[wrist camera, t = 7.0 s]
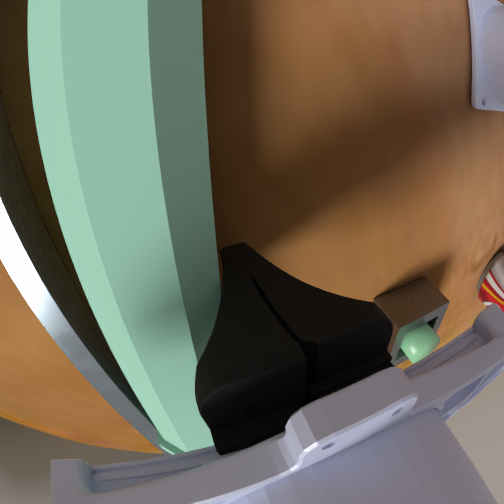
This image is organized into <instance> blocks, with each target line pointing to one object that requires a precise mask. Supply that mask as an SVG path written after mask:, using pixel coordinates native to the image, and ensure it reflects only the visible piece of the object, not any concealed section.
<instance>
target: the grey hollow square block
mask: <svg viewBox="0 0 504 504" xmlns="http://www.w3.org/2000/svg"><path fill="white" fill-rule="evenodd" d="M449 302H450V301H449V300H448V299H447V298H446V297H445V296H444V295H443V294H442V293H441V292H440V291H439V290H438V289H437V288H436V287H435V286H434V285H433V284H432V283H431V282H430V281H429V280H428V279H427V278H425V277H422V278H420V279H418V280H415V281H413V282H411V283H409V284H406V285H404V286H402V287H400V288H397V289H395V290H393V291H390V292H388V293H386V294H383V295H381V296H379V297H376V298H374V302H373V303H375V304H376V305H377V306H378V307H379V308H381V309H382V310H383V312H384V313H385V314H386V315H387V316H388V318H389V319H390V320H391V321H392V323H393V333H392V337H391V340H390V343H389V346H388V349H387V351H388V352H389V353H390V355H391V356H392V360H391V363H392V364H393V365H394V367H395V366H397V365H398V364H400V363H402V362H404V361H406V360H408V359H409V358H408V357H407V355H406V354H405V353H404V351H403V350H402V349H401V348H400V347H401V344H402V341H403V339H404V336H405V334H406V333H408V332H410V331H411V330H413V329H415V328H417V327H419V326H421V325H423V324H424V323H426V322H427V324H428V325H429V326H430V327H431V328H432V329H433V330H434V332H435V333H436V332H437V330H438V328H439V326H440V324H441V321H442V319H443V317H444V314H445V312H446V310H447V307H448V305H449Z"/></svg>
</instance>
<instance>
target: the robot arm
mask: <svg viewBox="0 0 504 504" xmlns="http://www.w3.org/2000/svg"><path fill="white" fill-rule="evenodd" d="M468 6H469V16H470V27H471V45H472V94H471V103H472V106H473V107H474V108H476V109H479V110H493V111H504V4H502V3H500V2H499V1H497V0H468ZM220 254H221V259H222V263H223V283H222V292H221V299H220V304H219V309H218V313H217V317H216V320H215V324H214V327H213V330H212V333H211V335H210V338H209V340H208V343H207V345H206V347H205V350H204V352H203V353H202V355H201V357H200V359H199V361H198V363H197V366H196V374H195V399H196V403H197V406H198V410H199V413H200V416H201V417H202V419H203V420H204V422H205V423H206V425H207V426H208V428H209V429H210V432H211V435H212V439H213V442H214V445H213V446H209V447H205V448H201V449H197V450H192V451H188V452H183V453H179V454H174V455H169V456H163V457H158V458H152V459H146V460H139V461H132V462H125V463H117V464H108V465H97V466H91V465H89V464H88V463H87V462H85V461H83V460H79V459H58V460H51V482H52V497H53V504H497V502H496V500H495V499H494V497H493V495H492V494H491V492H490V490H489V489H488V487H487V485H486V484H485V482H484V481H483V479H482V477H481V476H480V474H479V473H478V471H477V469H476V468H475V466H474V465H473V463H472V462H471V460H470V459H469V457H468V455H467V454H466V453H465V451H464V450H463V448H462V446H461V445H460V443H459V442H458V440H457V439H456V437H455V436H454V435H453V433H452V432H451V430H450V429H449V427H448V426H447V424H446V423H445V421H446V420H447V419H449V418H450V417H451V416H452V415H454V414H455V413H456V412H457V411H459V410H460V409H461V408H462V407H463V406H465V405H466V404H467V403H468V402H469V401H471V400H472V399H473V398H474V397H475V396H476V395H477V394H478V393H480V392H481V391H482V390H483V389H484V388H485V387H486V386H487V385H488V384H490V383H491V382H492V381H493V380H494V379H495V378H496V377H497V376H498V375H499V374H500V373H501V372H503V370H504V312H503V311H502V310H501V309H500V308H499V307H498V306H497V305H496V304H495V303H492V304H491V305H490V306H488V307H487V308H486V309H484V310H483V311H482V312H480V313H479V315H478V316H477V317H476V319H475V321H474V323H473V326H472V327H471V328H469V329H468V330H467V331H465V332H464V333H462V334H461V335H459V336H458V337H456V338H455V339H453V340H452V341H450V342H449V343H447V344H446V345H444V346H443V347H441V348H439V349H438V350H436V351H435V352H433V353H431V354H430V355H428V356H426V357H425V358H423V359H421V360H420V361H418V362H416V363H414V364H413V365H411V366H409V367H407V368H406V369H404V370H402V369H401V368H397V367H394V365H393V364H392V363H391V360H392V356H391V355H390V353H389V352H388V351H387V349H388V346H389V343H390V340H391V337H392V333H393V323H392V321H391V320H390V319H389V318H388V316H387V315H386V314H385V313H384V312H383V310H382V309H381V308H379V307H378V306H377V305H376V304H375V303H373V302H368V301H362V300H357V299H352V298H348V297H344V296H340V295H336V294H333V293H330V292H327V291H324V290H322V289H319V288H316V287H314V286H311V285H309V284H307V283H305V282H303V281H300V280H298V279H296V278H295V277H293V276H291V275H289V274H288V273H286V272H284V271H283V270H281V269H279V268H278V267H276V266H275V265H273V264H272V263H271V262H269V261H268V260H266V259H265V258H264V257H262V256H261V255H260V254H258V253H257V252H256V251H255V250H253V249H252V248H251V247H250V246H249V245H247V244H246V243H244V242H242V243H239V244H235V245H231V246H228V247H224V248H222V249H221V250H220Z"/></svg>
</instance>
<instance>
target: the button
mask: <svg viewBox="0 0 504 504" xmlns="http://www.w3.org/2000/svg"><path fill="white" fill-rule="evenodd" d="M439 341H440V337H439V336H438V335H437V334H436V333H435V332H434V330H433V329H432V328H431V327H430V326H429V325H428V324H427V322H426V323H424V324H423V325H421V326H419V327H417V328H415V329H413V330H411V331H410V332H408V333H406V334H405V336H404V339H403V341H402V344H401V347H400V348H401V349H402V350H403V351H404V353H405V354H406V355H407V357H408V358H409V359H410V361H411V362H412V363H416V362H418V361H420V360H421V359H423V358H425V357H426V356H428V355H429V354H430V353H431V352H432V351H433V350H434V349H435V348H436V346H437V345H438V343H439Z"/></svg>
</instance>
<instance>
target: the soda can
mask: <svg viewBox="0 0 504 504" xmlns="http://www.w3.org/2000/svg"><path fill="white" fill-rule="evenodd" d="M478 291H479V293H478V297H479V299H480V300H481V301H482V302H483V303H484V304H485V305H486V306H487V307H488V306H490V305H491V304H492V303H495V304H496V305H497V306H498V307H499V308H500V309H501V310H502V311H503V312H504V252H501V253H499V254H497V255H496V256H495V257H494V258H493V259H492V260H491V262H490V263H489V264H488V266H487V267H486V269H485V271H484V272H483V274H482V276H481V278H480V281H479V284H478Z"/></svg>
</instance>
